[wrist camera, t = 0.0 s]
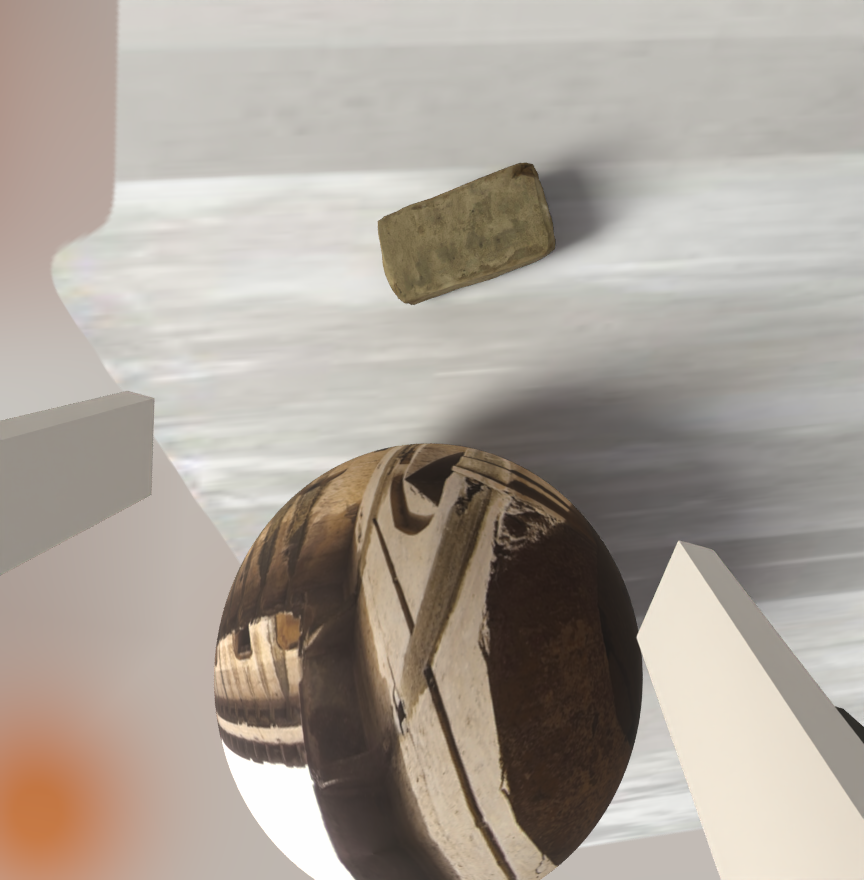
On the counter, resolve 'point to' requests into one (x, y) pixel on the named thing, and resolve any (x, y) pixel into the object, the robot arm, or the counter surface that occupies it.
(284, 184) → the counter surface
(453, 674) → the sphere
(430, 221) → the stone block
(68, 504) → the robot arm
